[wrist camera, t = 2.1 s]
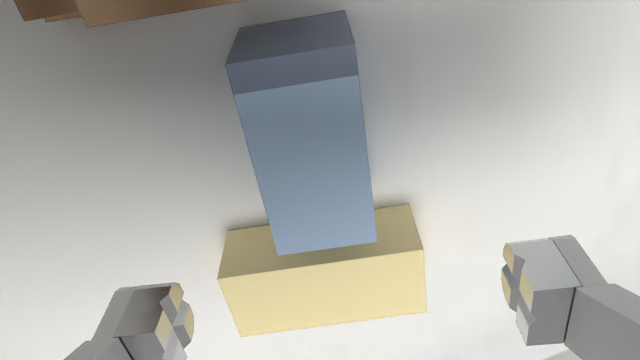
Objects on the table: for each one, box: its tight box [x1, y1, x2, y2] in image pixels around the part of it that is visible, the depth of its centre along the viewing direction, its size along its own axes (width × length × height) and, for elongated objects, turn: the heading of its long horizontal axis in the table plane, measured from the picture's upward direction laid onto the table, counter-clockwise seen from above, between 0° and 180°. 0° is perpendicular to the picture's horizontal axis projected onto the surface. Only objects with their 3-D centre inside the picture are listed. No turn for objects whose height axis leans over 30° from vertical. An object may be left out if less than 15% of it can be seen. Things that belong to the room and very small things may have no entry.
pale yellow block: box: [217, 204, 427, 337], centre depth 23 cm, size 9×4×4 cm, turn 99°
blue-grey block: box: [225, 10, 377, 255], centre depth 18 cm, size 4×8×4 cm, turn 9°
